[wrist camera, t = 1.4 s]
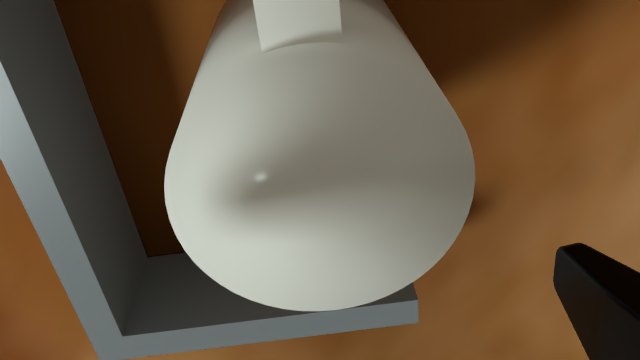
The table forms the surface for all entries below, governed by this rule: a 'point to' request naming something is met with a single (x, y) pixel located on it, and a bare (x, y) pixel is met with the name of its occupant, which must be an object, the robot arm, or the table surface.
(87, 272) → the frame
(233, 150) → the jug
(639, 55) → the table surface
